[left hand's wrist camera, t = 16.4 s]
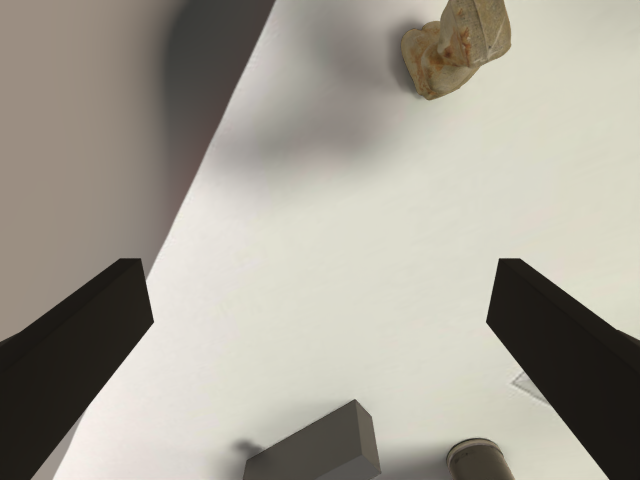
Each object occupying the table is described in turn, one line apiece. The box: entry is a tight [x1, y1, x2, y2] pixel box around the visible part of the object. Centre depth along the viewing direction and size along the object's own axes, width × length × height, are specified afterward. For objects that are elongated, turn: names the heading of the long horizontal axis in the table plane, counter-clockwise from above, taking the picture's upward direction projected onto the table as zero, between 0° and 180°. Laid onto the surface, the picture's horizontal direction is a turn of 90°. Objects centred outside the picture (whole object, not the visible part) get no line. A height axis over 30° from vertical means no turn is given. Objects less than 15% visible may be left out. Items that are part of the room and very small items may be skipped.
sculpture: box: [401, 0, 511, 100], centre depth 30 cm, size 6×7×15 cm
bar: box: [243, 400, 381, 480], centre depth 53 cm, size 23×5×9 cm, turn 127°
